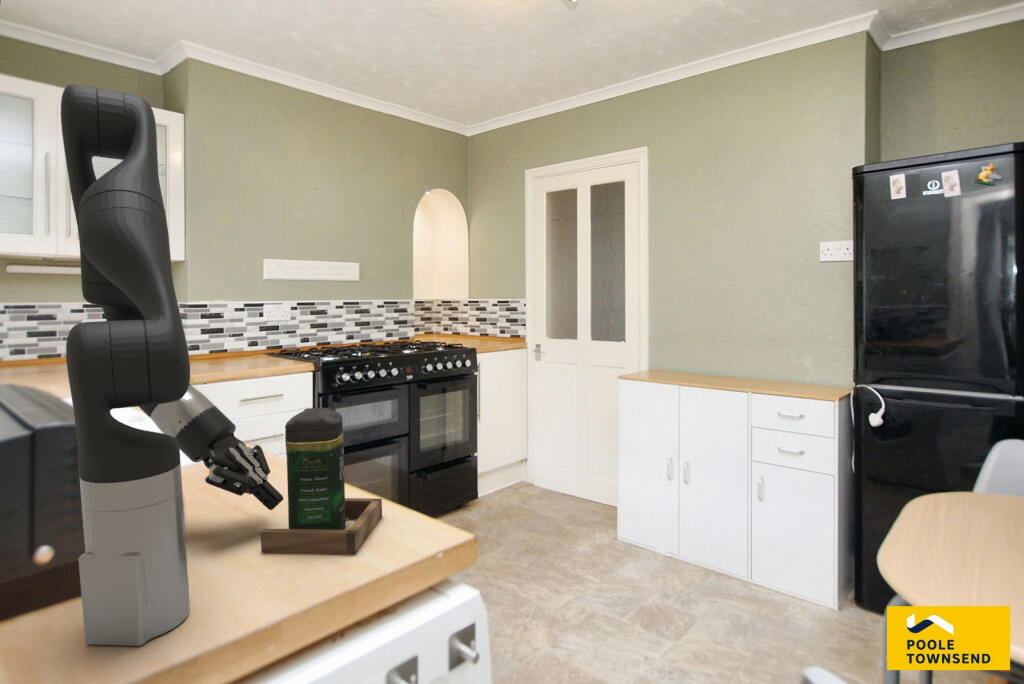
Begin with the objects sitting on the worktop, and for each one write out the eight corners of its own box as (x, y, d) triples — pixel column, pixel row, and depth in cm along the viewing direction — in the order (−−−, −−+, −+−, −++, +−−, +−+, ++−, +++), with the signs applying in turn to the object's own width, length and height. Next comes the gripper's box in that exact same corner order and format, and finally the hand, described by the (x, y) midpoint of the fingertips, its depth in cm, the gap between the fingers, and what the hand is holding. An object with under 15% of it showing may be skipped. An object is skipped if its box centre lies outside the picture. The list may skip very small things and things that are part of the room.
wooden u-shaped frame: (355, 554, 83) (354, 533, 82) (261, 552, 83) (260, 532, 83) (382, 516, 96) (381, 498, 96) (301, 515, 97) (300, 497, 96)
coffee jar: (342, 544, 86) (337, 416, 84) (284, 548, 85) (278, 418, 83) (350, 518, 95) (345, 403, 94) (297, 522, 94) (292, 405, 92)
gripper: (182, 415, 82) (273, 503, 83) (233, 397, 95) (312, 473, 96) (147, 453, 83) (238, 540, 84) (203, 429, 96) (281, 505, 97)
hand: (277, 504), depth 90 cm, fingers closed
